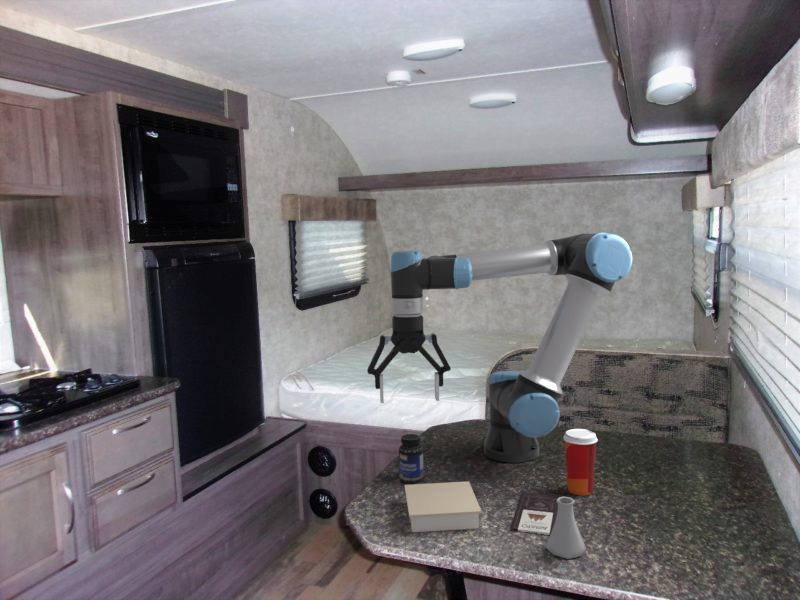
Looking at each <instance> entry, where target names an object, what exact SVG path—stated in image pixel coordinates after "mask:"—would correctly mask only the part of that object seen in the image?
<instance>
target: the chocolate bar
mask: <svg viewBox="0 0 800 600" xmlns="http://www.w3.org/2000/svg"><path fill="white" fill-rule="evenodd" d="M559 497H563V495H554V494H544V493H536V492H526V491H523V492H521V496H520V499H519V503H518V506H517V508H516V511H515V512H516V513H515V515H514V519H513V522H512V525H511V530H514V531H513V532H518V531H521V532H520V533H525V532H530V533H529V534H533V533H537V534H536V535H541V534H544V535H543V536H548V535H551V532H552V529H553V527H554V524H555V521H556V518H557V513H558V503H557V502H556V500H557V499H558V498H559Z"/></svg>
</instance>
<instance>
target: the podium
mask: <svg viewBox="0 0 800 600" xmlns="http://www.w3.org/2000/svg"><path fill="white" fill-rule="evenodd" d="M404 490H405V491H404V492H405V499H406V505H407V511H408V517H409V521H410V528H411V533H425V532H427V533H428V532H439V531H440V532H441V531H458V530H473V529H474V530H477V529H480V514H482V509H481V507H480V504H479V502H478V500H477V497H476V495H475V493H474V490H473V488H472V485H471V483H470V481H453V482H452V481H451V482H436V483H434V482H433V483H411V484H404Z"/></svg>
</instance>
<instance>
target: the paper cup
mask: <svg viewBox="0 0 800 600" xmlns="http://www.w3.org/2000/svg"><path fill="white" fill-rule="evenodd" d="M563 440H564V447H565V462H566V463H565V467H566V479H567V490H568V492H569V493H570V494H573V495H575V496H579V497H580V496H581V497H582V496H583V497H586V496H587V497H588V496H590V495H592V494H593V492H594V491H593V490H594V480H595V468H596V467H595V466H596V449H597V442H599V441H598V440H599V439H598V438H597V435H596V432H593V431H591V430H589V429H585V428H571V429H568V430H566V431H565V434H564V435H563Z"/></svg>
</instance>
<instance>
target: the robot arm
mask: <svg viewBox="0 0 800 600" xmlns="http://www.w3.org/2000/svg"><path fill="white" fill-rule="evenodd" d="M632 265H633V254H632V251H631V248H630V246H629V244H628V242H627V241H626V240H625V239H624V238H623V237H621V236H619V235H618V234H613V233H608V232H597V233H579V234H575V235H571V236H567V237H563V238H558V239H551V240H549V239H548V240H546V241H545V242H544V244H538V245H528V246H520V247H519V246H518V247H511V248H500V249H493V250H484V251H483V250H482V251H474V252H464V253H456V254H446V255H431V256H428V257H427V258H424V257H423V255H422V251H419V250H397V251H394V252H393V253H392V254H391V256H390V285H391V313H392V314H393V316H392V317H391V319H392V320H391V321H392V333H391V335H390V336H389V335H384V334H381V335H380V336H379V344H378V346H377V348H376V350H375V351H374V354H373V356H372V359H371V360H370V363H369V365H368V367H367V372H366V373H367V374H368V375H372V376H374V385H375V386H374V387H375V390H379V393H380V394H379V398H380V399H379V400H380V404H384V403H385V402H384V399H385V398H384V396H385V395H384V375H383V372H384V371H385V369H386V368H387V367H388V366H389V364H390V363H392V361H393V360H394V359H395V357H396V356H397V355H398V354H399V353H400V354H402V355H403V354H416V353H417V352H419V353H420V354H421V355H422V356H423V358H425V360H426V361H427V362H429V364H430V365H431V366H432V367H433V368H434V370H435V372H434V374H433V375H434V400H435V401H436V402H438V401H440V387H443V386H444V373H446V372H449V371H451V369H452V368H451V366H450V364H449V362H448V360H447V359H446V357H445V355H444V353H443V351H442V349H441V348H440V346H439V343H438V337H437V336H438V335H436V333H435V332H431V333H430V334H425V332H424V316H423V315H422V314H423V313H424V302H423V301H424V299H423V297H424V296H423V295H424V294H423V290H426V291H428V290H451V289H452V290H459V289H465V288H466V289H467V288H469V287H470V286H471V284H472V282H474V281H480V280H481V281H483V280H492V279H500V278H508V277H509V278H510V277H520V276H527V275H537V274H545V273H546V274H548V276H551V277H552V276H553V277H554V276H565V279H566V281H567V285H566V287H565V290H564V292H563V294H562V296H561V298H560V300H559V302H558V305H557V307H556V309H555V311H554V314H553V315H552V318H551V320H550V322H549V324H548V326H547V328H546V330H545V332H544V334H543V337H542V338H541V341H540V344H539V345H538V347H537V349H536V351H535V354H534V357H533V359H532V360H531V362H530V365H529V367H528V368H527V369H526V370H504V371H503V370H501V371H495V372H493V373H491V374H490V375H489V379H488V389H489V427H488V430H487V433H486V437H485V440H484V443H483V454H484V456H486V457H488V458H489V459H491V460H494V461H496V462H497V461H498V462H503V463H510V464H511V463H512V464H513V463H526V462H531V461H533V460H535V459H537V458H538V457H539V456H540V445H539V441H538V439H537V438H540V437H543V436H546V435H548V434H549V433H551V432H552V431H553V430H554V429H555V428H556V427H557V425H558V422H559V421H560V414H561V412H560V408H559V402H560V399H561V398H562V395H563V390H562V387H561V383H562V381H563V378H564V376H565V374H566V371H567V370H568V367H569V365H570V363H571V361H572V359H573V357H574V355H575V353H576V352H577V349H578V346H579V345H580V342H581V341H582V337H583V335H584V333H585V332H586V329H587V328H588V325H589V323H590V321H591V319H592V317H593V315H594V312H595V310H596V309H597V306H598V304H599V303H600V299H601V298H602V297H605V296H607V295H610V293H611V292H612V289H613V287H614V285H615V283H616V282H619V281H621V280H622V279H624V278H625V277H626V276H627V275H628V273H629V272H630V271H631V268H632ZM426 340H427V341H428V343H429V344H431V345H432V346H433V348H434V351H435V352H436V354H437V356H438V358H439V359H440V362H441V364H442V366H441V365H439V363H438V362H437V361H436V359H434V357H432V356H431V354H430V353H429V352H428V351H427V350H426V349H425V348H424V346H423V345H424V343H426ZM389 342H391V343H392V345H393V347H392V348H391V350H390V351H389V353H388V354H387V355H386V356H385V358H384V359H383V360H382V362H380V364H379V366H377V363H378V361H379V360H380V358H381V354H382V352H383V350H384V348H385V346H387V345H388V344H389ZM376 366H377V368H376Z"/></svg>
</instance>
